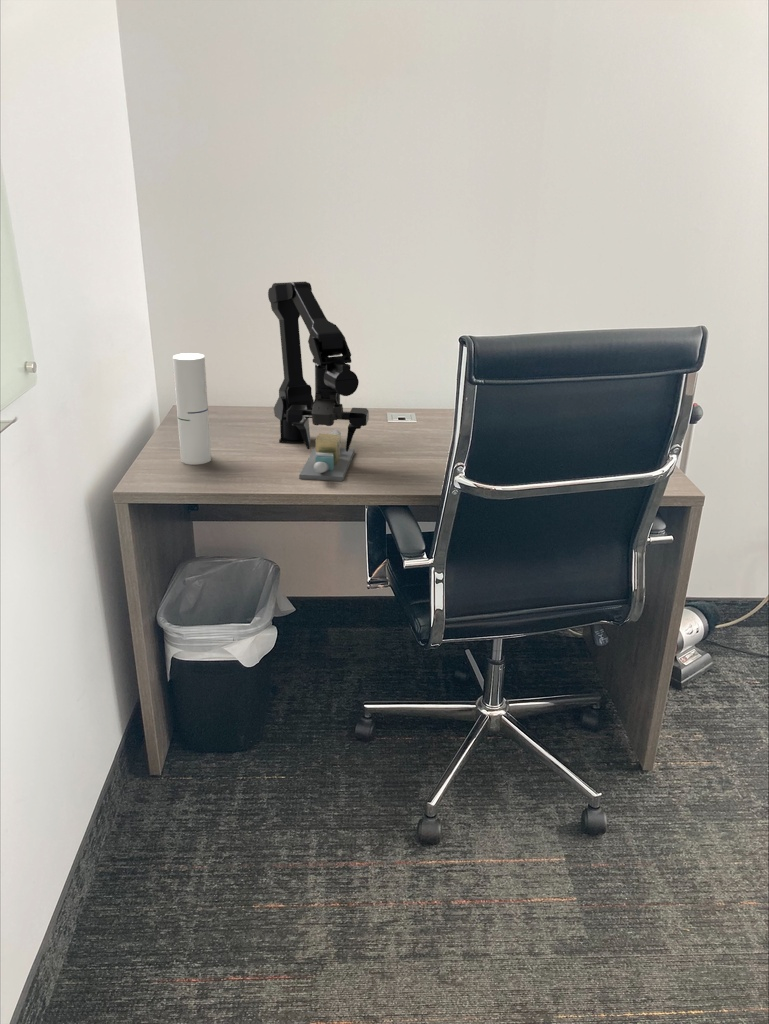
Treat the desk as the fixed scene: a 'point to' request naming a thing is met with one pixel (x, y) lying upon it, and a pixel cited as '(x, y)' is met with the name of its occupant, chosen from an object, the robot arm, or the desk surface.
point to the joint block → (329, 445)
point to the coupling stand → (327, 465)
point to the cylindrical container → (192, 408)
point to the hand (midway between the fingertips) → (328, 450)
